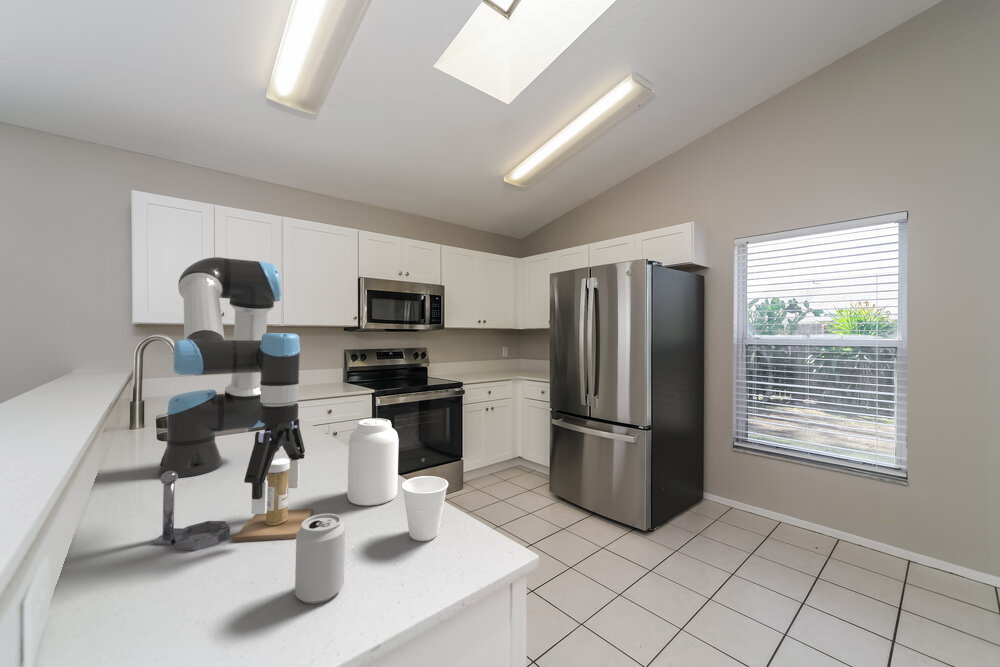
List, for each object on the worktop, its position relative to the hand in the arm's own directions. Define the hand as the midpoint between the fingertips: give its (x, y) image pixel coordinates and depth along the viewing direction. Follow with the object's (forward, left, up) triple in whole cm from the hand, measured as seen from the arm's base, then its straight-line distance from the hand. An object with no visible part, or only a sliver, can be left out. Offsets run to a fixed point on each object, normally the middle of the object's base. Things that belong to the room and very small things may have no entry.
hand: (277, 499), depth 90 cm
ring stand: (+6, -14, -6) cm, 16 cm away
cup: (+2, +33, -6) cm, 34 cm away
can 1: (+22, +19, -6) cm, 30 cm away
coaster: (0, 0, -6) cm, 6 cm away
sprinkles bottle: (0, 0, -5) cm, 5 cm away
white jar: (-17, +16, -6) cm, 24 cm away
